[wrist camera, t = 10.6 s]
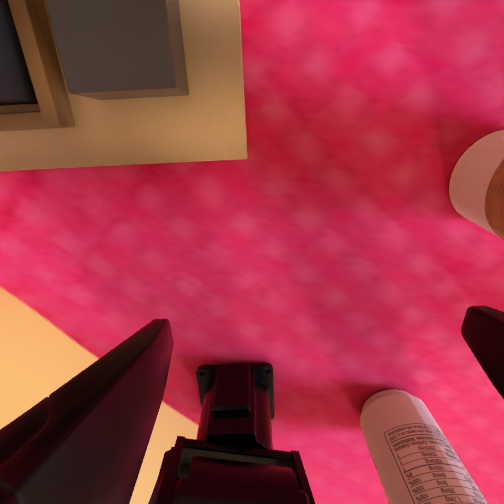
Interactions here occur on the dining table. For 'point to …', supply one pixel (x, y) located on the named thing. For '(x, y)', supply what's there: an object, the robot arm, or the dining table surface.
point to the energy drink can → (414, 453)
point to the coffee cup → (481, 183)
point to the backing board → (155, 118)
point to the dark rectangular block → (13, 64)
